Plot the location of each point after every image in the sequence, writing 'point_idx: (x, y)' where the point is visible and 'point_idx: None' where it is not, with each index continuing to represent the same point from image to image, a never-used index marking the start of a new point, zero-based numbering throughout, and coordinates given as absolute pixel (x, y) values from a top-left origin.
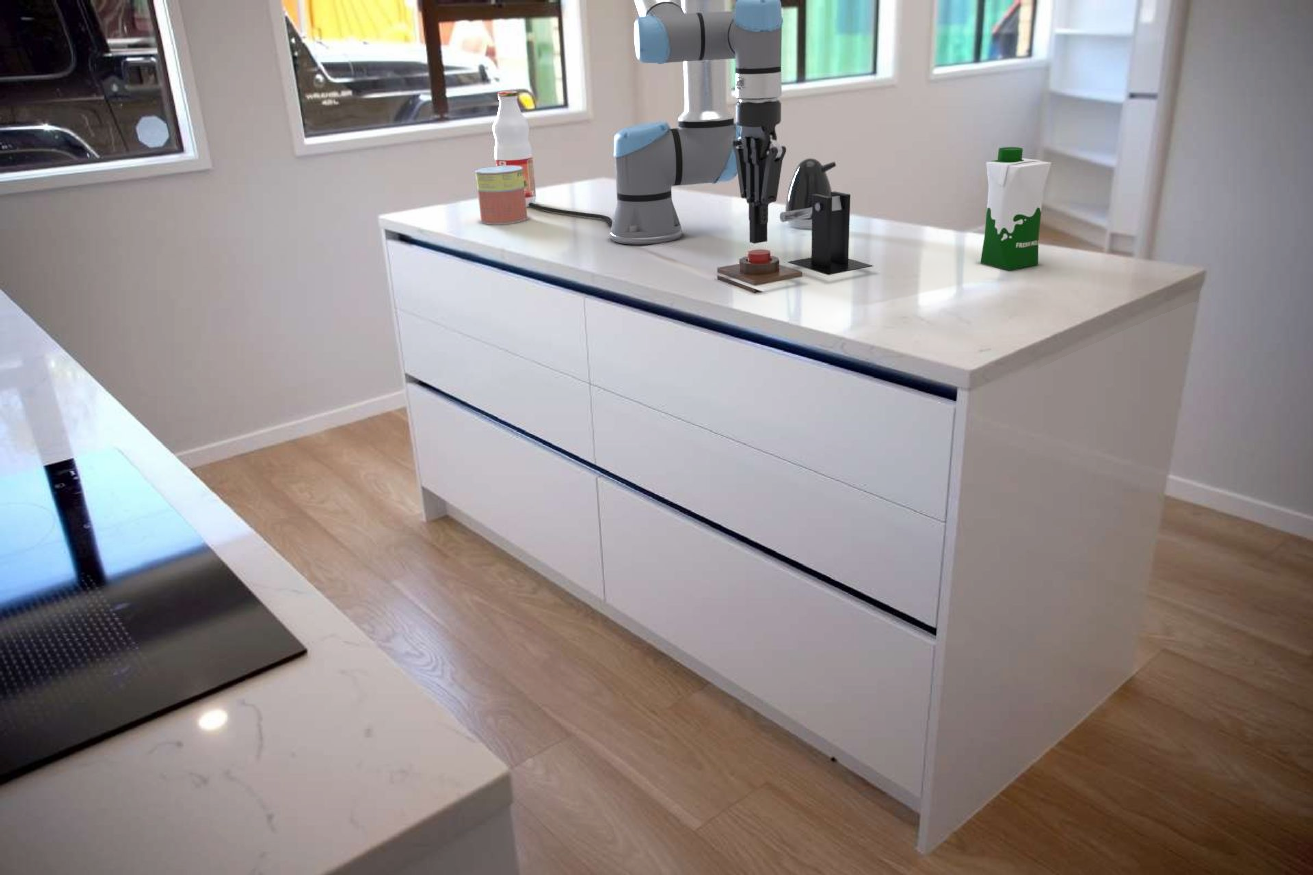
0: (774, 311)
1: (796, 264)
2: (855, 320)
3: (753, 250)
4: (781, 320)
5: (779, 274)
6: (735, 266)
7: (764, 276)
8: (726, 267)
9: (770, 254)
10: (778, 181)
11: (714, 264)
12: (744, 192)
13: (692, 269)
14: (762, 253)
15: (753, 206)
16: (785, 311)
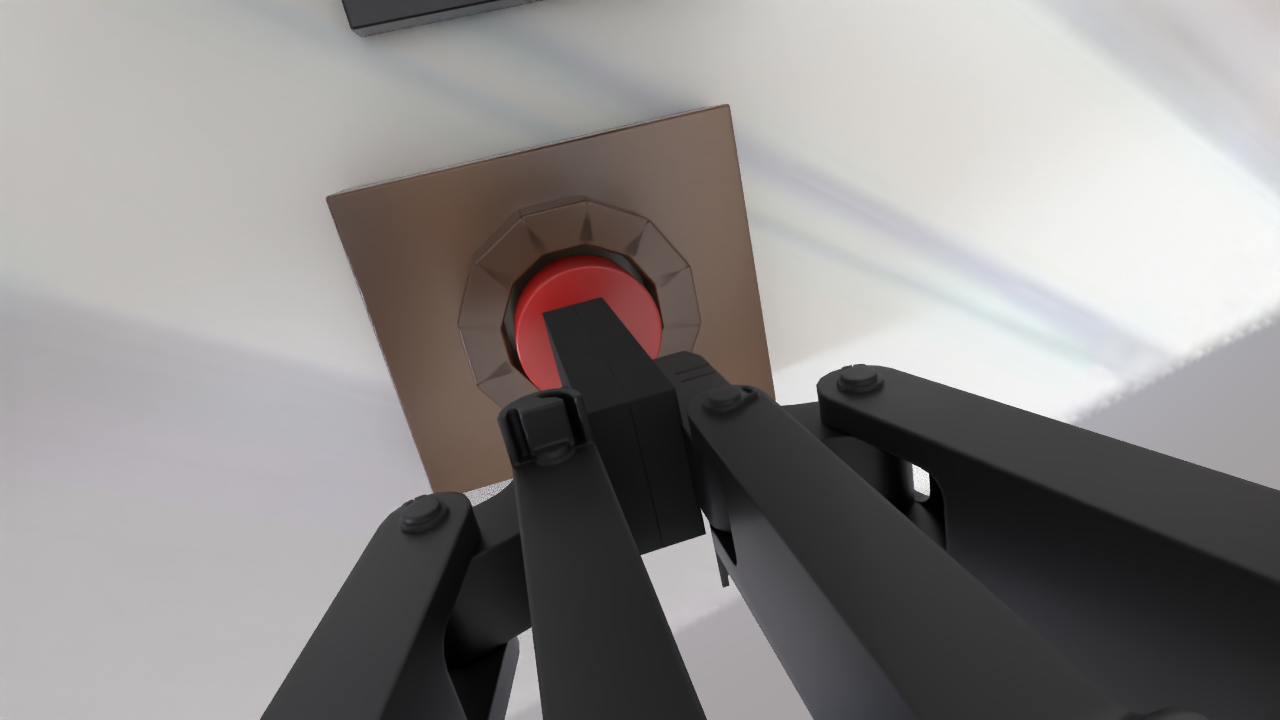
0: (1004, 385)
1: (451, 10)
2: (1254, 152)
3: (537, 358)
4: (1101, 397)
5: (723, 247)
6: (452, 408)
7: (724, 332)
8: (452, 456)
9: (621, 269)
10: (1129, 458)
11: (53, 404)
12: (512, 666)
13: (153, 539)
14: (641, 332)
15: (690, 534)
16: (1027, 348)
